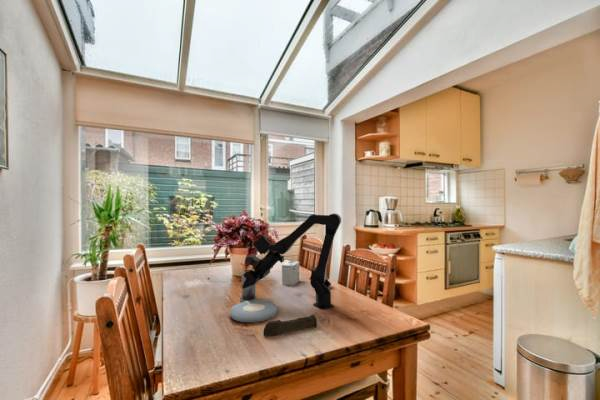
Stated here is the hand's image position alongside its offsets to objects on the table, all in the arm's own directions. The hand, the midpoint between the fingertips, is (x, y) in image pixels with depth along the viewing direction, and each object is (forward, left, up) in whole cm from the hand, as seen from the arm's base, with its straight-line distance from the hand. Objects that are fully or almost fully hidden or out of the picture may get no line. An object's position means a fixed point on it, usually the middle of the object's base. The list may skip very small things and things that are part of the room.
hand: (245, 285), depth 127 cm
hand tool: (-38, -2, -7) cm, 39 cm away
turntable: (-17, +3, -7) cm, 18 cm away
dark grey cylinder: (-1, -1, -7) cm, 7 cm away
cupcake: (-3, -39, -7) cm, 40 cm away
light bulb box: (+13, -31, -7) cm, 34 cm away
